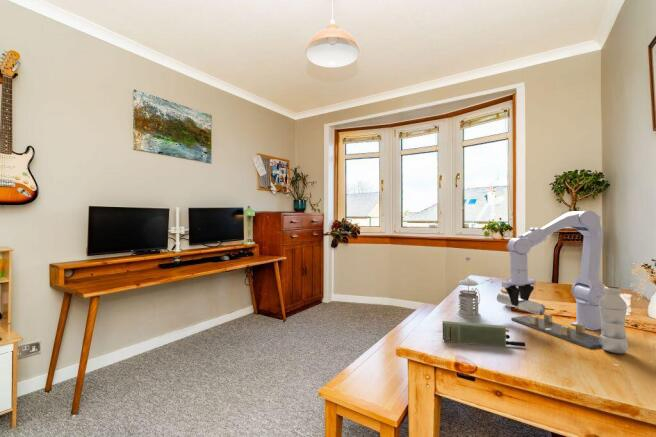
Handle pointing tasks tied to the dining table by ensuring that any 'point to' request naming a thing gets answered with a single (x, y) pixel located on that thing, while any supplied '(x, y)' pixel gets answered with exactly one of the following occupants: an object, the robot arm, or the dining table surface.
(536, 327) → the plate
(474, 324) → the handheld radio
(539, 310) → the tube
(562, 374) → the dining table surface
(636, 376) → the dining table surface
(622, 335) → the plastic bottle
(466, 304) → the french press
